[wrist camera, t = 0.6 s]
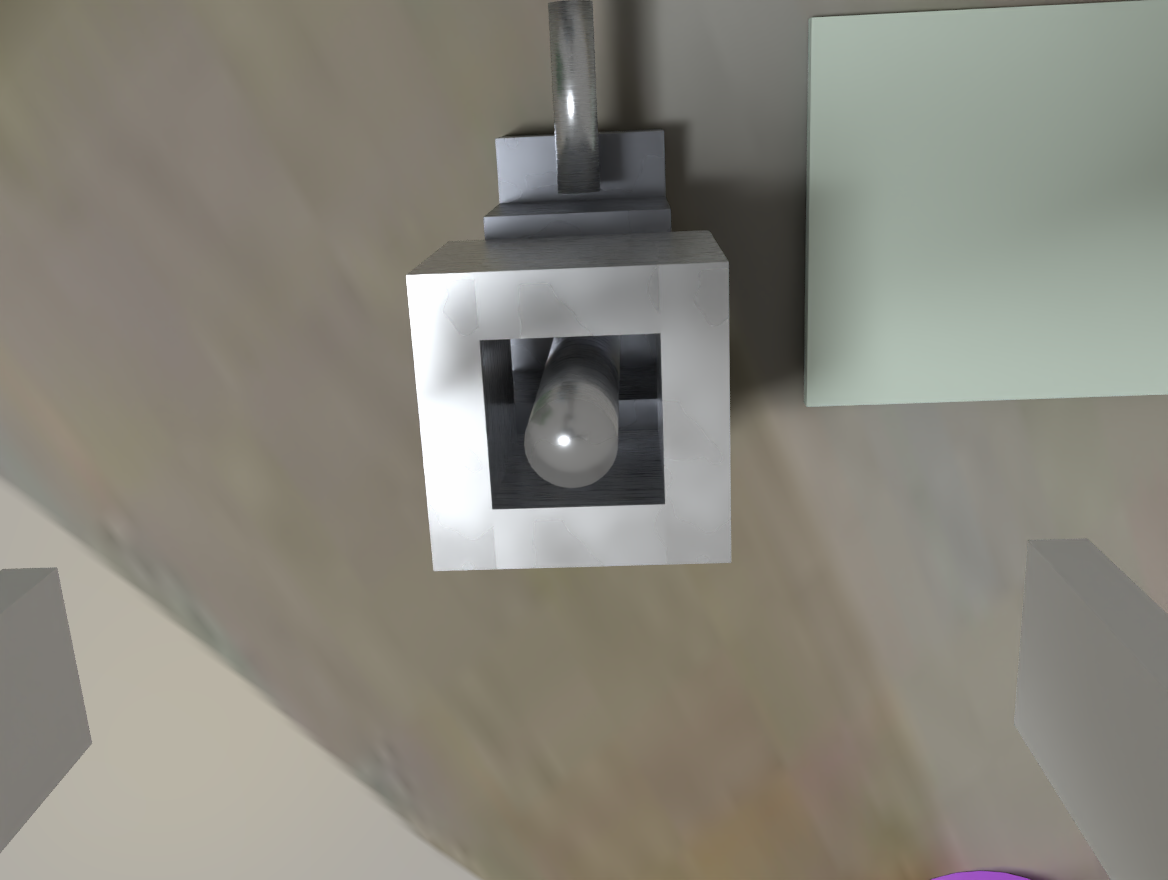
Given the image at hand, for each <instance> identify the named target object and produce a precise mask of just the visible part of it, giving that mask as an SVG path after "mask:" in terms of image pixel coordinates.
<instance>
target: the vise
mask: <svg viewBox="0 0 1168 880" xmlns="http://www.w3.org/2000/svg"><path fill="white" fill-rule="evenodd" d="M548 12H549V31H550V50H551V69H552V89H553V108H554V127H555V134H543V135H522V136H502V137H499V138H496V154H497V169H498V184H499V199H500V204H499V205H498V206H496V207H495V208H494V209H493V210H492V211H490V212H489V213H488V214H487V215H486V216H484V231H485V240H492V239H515V238H539V237H562V236H586V235H609V234H633V233H656V232H671V208H670V206H669V203H668V201H667V199H666V191H665V150H664V130H663V129H649V130H628V131H607V132H598V123H597V99H596V74H595V50H594V26H593V2H592V1H590V0H570V1H557V2H550V3H548ZM510 342H511V356H512V371H513V386H514V401H515V416H516V431H517V435H519V434H525V437H524V448H525V453H526V457H527V459H528V461H529V463H530V465H531V467H532V468H533V469H534V471H535V472H536V473H537V474H538V475H539V476H540V477H542V478H543V479H544V480H546V481H548V482H549V483H551V484H554V485H557V486H560V487H566V488H578V487H583V486H587V485H590V484H592V483H594V482H596V481H597V480H599V479H600V478H602V477H603V476H604V475H605V474H606V473H607V472H608V471H609V469H610V468H611V466H612V465H613V463H614V460H615V458H616V455H617V450H618V431H637V430H658V411H657V375H656V339H655V333H654V334H628V335H602V336H576V337H550V338H523V339H510Z"/></svg>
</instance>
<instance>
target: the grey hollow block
mask: <svg viewBox="0 0 1168 880" xmlns="http://www.w3.org/2000/svg"><path fill="white" fill-rule="evenodd" d="M406 281H407V291H408V302H409V313H410V323H411V334H412V345H413V356H414V366H415V377H416V388H417V398H418V409H419V420H420V430H421V441H422V452H423V462H424V473H425V484H426V495H427V505H428V516H429V527H430V537H431V548H432V559H433V569H434V571H449V570H485V569H521V568H556V567H592V566H628V565H663V564H699V563H731V481H730V356H729V262H728V260H727V258H726V257H725V255H724V254H723V252H722V250H721V249H720V247H719V246H718V244H717V242H716V241H715V239H714V238H713V236H712V234H711V233H710V231H709V230H703V231H680V232H656V233H633V234H609V235H586V236H562V237H539V238H515V239H492V240H468V241H448V242H447V243H446V244H444V245H443V246H442V247H441V248H439V249H438V250H437V251H436V252H434V253H433V254H432V255H431V256H429V257H428V258H427V259H426V260H424V261H423V262H422V263H421V264H419V265H418V266H417V267H416V268H414V269H413V270H412V271H411V272H409V273H408V274H407V275H406ZM654 333H655V339H656V375H657V411H658V430H637V431H618V450H617V455H616V458H615V460H614V463H613V465H612V466H611V468H610V469H609V471H608V472H607V473H606V474H605V475H604V476H603V477H602V478H600V479H599V480H597V481H596V482H594V483H592V484H590V485H587V486H583V487H578V488H566V487H560V486H557V485H554V484H551V483H549V482H548V481H546V480H544V479H543V478H542V477H540V476H539V475H538V474H537V473H536V472H535V471H534V469H533V468H532V467H531V465H530V463H529V461H528V459H527V457H526V453H525V448H524V437H525V434H519V435H517V431H516V416H515V401H514V386H513V371H512V356H511V342H510V339H523V338H550V337H576V336H602V335H628V334H654Z"/></svg>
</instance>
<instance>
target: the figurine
mask: <svg viewBox="0 0 1168 880" xmlns="http://www.w3.org/2000/svg"><path fill="white" fill-rule="evenodd" d="M931 880H1030V879H1028V878H1024V877H1020V876H1016V875H1012V874H1008V873H1002V872H990V871H973V872H961V873H954V874H950V875H946V876H942V877H938V878H934V879H931Z"/></svg>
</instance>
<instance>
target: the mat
mask: <svg viewBox="0 0 1168 880" xmlns="http://www.w3.org/2000/svg"><path fill="white" fill-rule="evenodd" d="M1162 394H1168V0H1142V1H1122V2H1103V3H1083V4H1064V5H1045V6H1025V7H1006V8H987V9H967V10H948V11H929V12H909V13H890V14H871V15H851V16H832V17H812V18H809V20H808V102H807V184H806V266H805V348H804V403H805V405H806V407H817V406H845V405H874V404H903V403H932V402H960V401H989V400H1018V399H1047V398H1076V397H1104V396H1133V395H1162Z"/></svg>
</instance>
